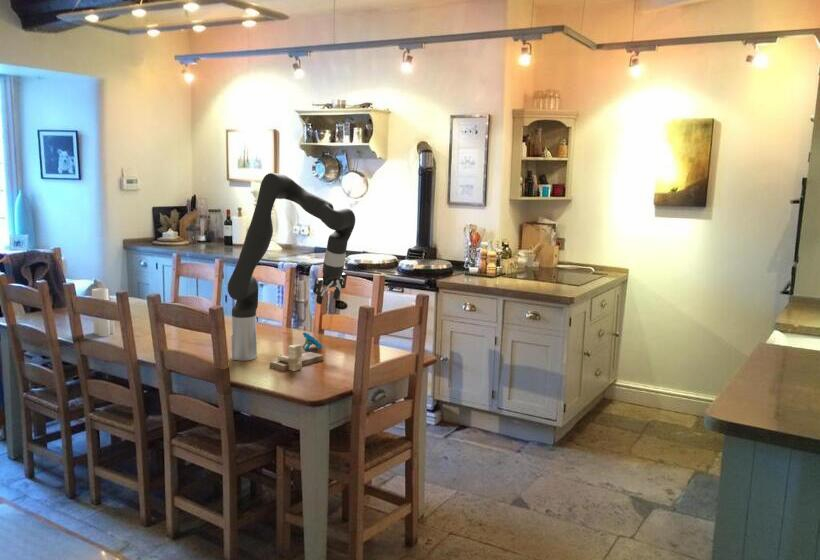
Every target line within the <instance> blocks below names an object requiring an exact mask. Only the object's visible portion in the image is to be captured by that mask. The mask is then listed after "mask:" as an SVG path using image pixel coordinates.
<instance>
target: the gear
mask: <svg viewBox="0 0 820 560" xmlns="http://www.w3.org/2000/svg"><path fill="white" fill-rule="evenodd" d="M302 335H303V336H304V338H305V339H304V340H305V341H304V342H305V343H304V344H303V345H302V348H303V347H304V350H305V351H307V350H308V349H309V348H310V347H311V346H312V345H314V346H315V347H316V348H319V349H320V348H321V349H323V348H324V347H323V345H322V344H321V343H320V342H319V341H318V339H315V337H314V336H312V335H310V334H309V333H307V332H302Z"/></svg>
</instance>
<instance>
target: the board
mask: <svg viewBox="0 0 820 560" xmlns="http://www.w3.org/2000/svg"><path fill="white" fill-rule="evenodd" d="M321 360H322V361H324V354H319V353H315V352H312V351H307V352H304V353H303V352H302V367H303V366H307V365H311V364H314V362H315V363H318V361H319V362H321ZM271 367H273V369H275V368H276V370H278V369H279V371H282V370H283V371H282V372H286V371H290V370H289V364H288V363H287V362H284V361H280V360H278V359H275V360H273V361H270V362H269V368H271Z"/></svg>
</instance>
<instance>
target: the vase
mask: <svg viewBox="0 0 820 560" xmlns="http://www.w3.org/2000/svg"><path fill="white" fill-rule="evenodd" d="M92 297H95V298H100V299H104V300H111V301H113V302H114V300H113V299H111V298H109V288H105V287H99V288H98V287H97V288H92V289H91V298H92ZM92 317H93V316H92ZM92 320H93V333H94V335H98V336H99V337H103V338H104V337H105V338H106V337H109V336H111V335H114V334H115V320H114V321H110V320H105V319H100V318H94V317H93V318H92Z"/></svg>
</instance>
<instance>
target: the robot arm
mask: <svg viewBox="0 0 820 560" xmlns="http://www.w3.org/2000/svg"><path fill="white" fill-rule="evenodd" d="M260 183H261V184H260V187H259V191H258V195H257V200H256V204H255V208H254V212H253V215H252V217H251V221H250V223H249V227H248V229H247V232H246V235H245V237H244V242H243V245H242V248H241V250H240V254H239V256H238V258H237V259H238V260H237V263H236V265H235V268H234V269H233V272H232V274H231V275H230V278H229V280H228V283H227V294H228V295H229V297H230V298H231V299H233V300H235V301H236V302H235V304H234V306H233V307H232V309H231V328H232V329H231V333H232V334H231V339H230V341H231V360H232V361H241V362H242V361H244V362H245V361H252V360H255V359H257V358H258V357H257V356H258V351H257V349H258V348H257V344H258V343H257V338H258V337H257V309H258V305H259V285H258V281H257V279H256V278H255V277H254V275H253V274H254V271H255V269H256V267H257V266H258V264H259V263H260V261H261V260H262V259H263V257H264V256H265V254H266V253H267V251H268V249H269V246H270V243H271V241H272V238H273V233H274V227H273V221H272V212H273V208H274V205H275V201H277V199H278V200H287V201H291V202H294V203H295V204H297V205H299V206H300V207H301V208H302V209H303V210H304V211H305V212H307V214H310V215H311V216H313V217H315V218H317V219H318V220H320V221H321V222H322V223H323V224H324V225H325V226H326V227H327V228H329V229H330V230H333V231H334V232H332V233H331V234H330V235H329V236H328V239H327V245H326V249H325V253H324V258H323V264H322V269H321V272H322V274H323V275H322V277H321V278H318V277H316V278H315V280H314V285H313V289H312V293H313V294H315V295H316V298H315V301H316V304H318V305H322V304H323V299H324V294H325V292H328V291H329V289H331V288H335V289H334V290H333V299H335V301H336V300H337V301H338V300H339V299H340V297H341V296H340V295H341V291H342V290H343V289H345V288H346V285H347V277H348V275H347V274H346V273H345V272H344V268H345V262H346V252H347V249H348V242H349V240H350V237H351V235H352V233H353V230H354V227H355V225H356V216H355V212H353V210H352V209H350V208H342V209H337V210H336V209H334V206H333V204H332V203H331V202H329V201H327V200H326V199H324V198H322V197H320V196H318V195H317V194H314V193H312V192H311V191H308V190H306V189H305V188H304V187H302V186H301V185H299V184H298V183H297V182H295V180H293V179H292V178H290V177H289V176H288V175H285V174H282V173H275V172H270V173H267V174H266V175H264V177H263V179H262V181H261V182H260Z"/></svg>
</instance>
